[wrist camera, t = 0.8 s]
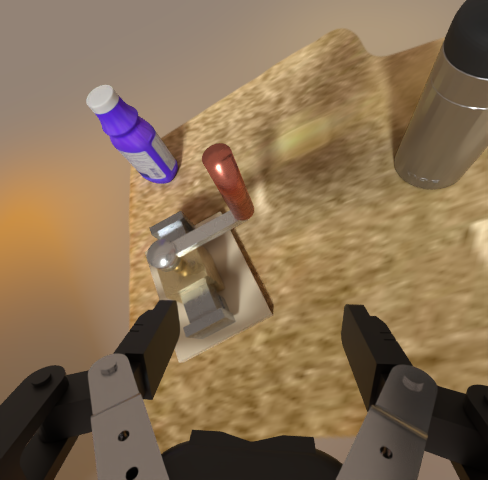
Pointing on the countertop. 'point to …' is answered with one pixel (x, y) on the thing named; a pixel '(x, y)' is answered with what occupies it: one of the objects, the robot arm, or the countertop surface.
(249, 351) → the countertop surface
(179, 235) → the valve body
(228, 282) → the valve board
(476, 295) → the countertop surface
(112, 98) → the bottle
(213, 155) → the valve lever
